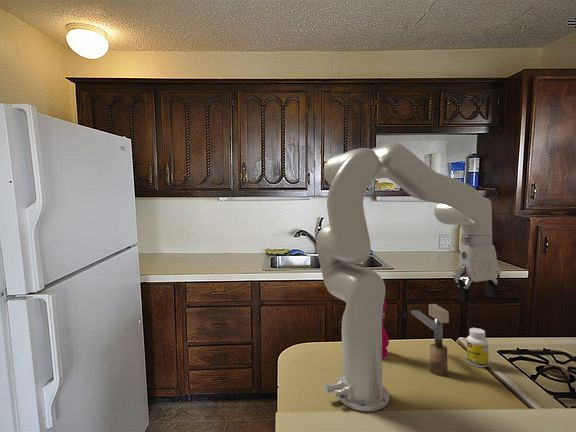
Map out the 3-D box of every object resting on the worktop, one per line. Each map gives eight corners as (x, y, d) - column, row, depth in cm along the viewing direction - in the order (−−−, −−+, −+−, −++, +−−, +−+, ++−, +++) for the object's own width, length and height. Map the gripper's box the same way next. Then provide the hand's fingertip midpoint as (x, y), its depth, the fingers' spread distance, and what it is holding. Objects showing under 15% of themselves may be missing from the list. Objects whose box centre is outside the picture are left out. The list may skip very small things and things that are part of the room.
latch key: (449, 351, 86) (449, 311, 85) (440, 351, 85) (440, 311, 85) (418, 326, 104) (417, 293, 104) (411, 326, 104) (410, 293, 104)
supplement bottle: (462, 361, 95) (462, 328, 94) (474, 357, 97) (474, 325, 97) (480, 369, 90) (480, 335, 90) (492, 365, 92) (492, 331, 92)
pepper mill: (390, 360, 96) (389, 294, 96) (365, 359, 98) (364, 293, 97) (387, 350, 103) (387, 288, 103) (364, 348, 105) (363, 288, 104)
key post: (438, 377, 86) (438, 351, 86) (426, 369, 91) (426, 344, 90) (451, 374, 88) (451, 348, 88) (439, 366, 92) (438, 342, 92)
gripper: (464, 244, 86) (465, 306, 87) (511, 239, 92) (512, 298, 92) (442, 241, 94) (444, 299, 94) (487, 237, 99) (488, 292, 99)
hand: (478, 299), depth 93 cm, fingers open, 9 cm apart
